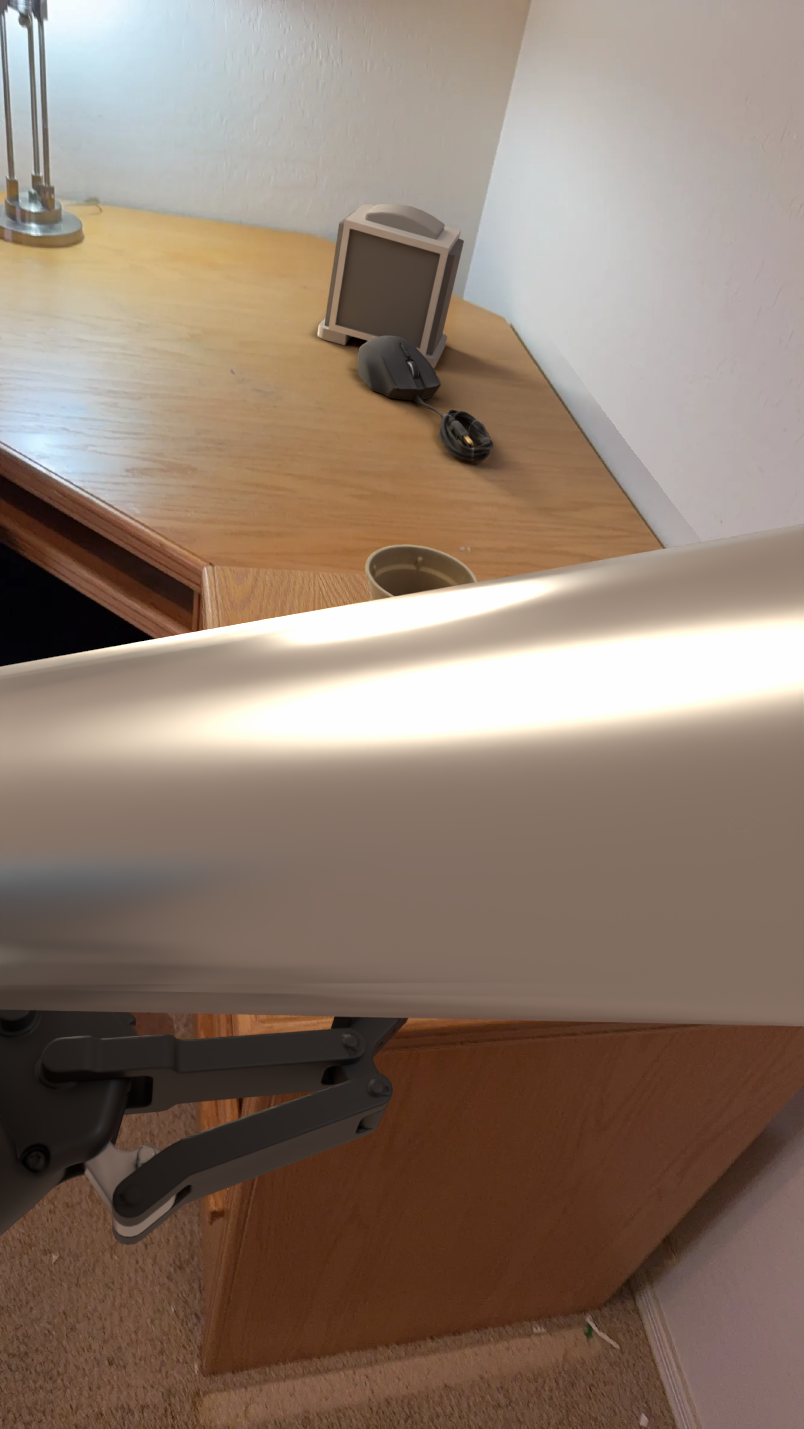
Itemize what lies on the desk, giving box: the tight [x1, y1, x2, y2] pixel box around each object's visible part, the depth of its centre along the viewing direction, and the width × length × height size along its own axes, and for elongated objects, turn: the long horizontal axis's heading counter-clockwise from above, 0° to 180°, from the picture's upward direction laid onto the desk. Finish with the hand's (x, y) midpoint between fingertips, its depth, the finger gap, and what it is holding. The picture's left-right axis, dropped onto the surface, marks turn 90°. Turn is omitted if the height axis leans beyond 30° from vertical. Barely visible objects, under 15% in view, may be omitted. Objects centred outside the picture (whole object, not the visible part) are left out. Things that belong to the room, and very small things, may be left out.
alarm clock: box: [317, 202, 465, 369], centre depth 131 cm, size 18×13×18 cm
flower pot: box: [364, 544, 479, 601], centre depth 74 cm, size 9×9×9 cm
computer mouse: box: [356, 336, 494, 462], centre depth 117 cm, size 10×32×6 cm, turn 29°
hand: (324, 840), depth 41 cm, fingers open, 13 cm apart
